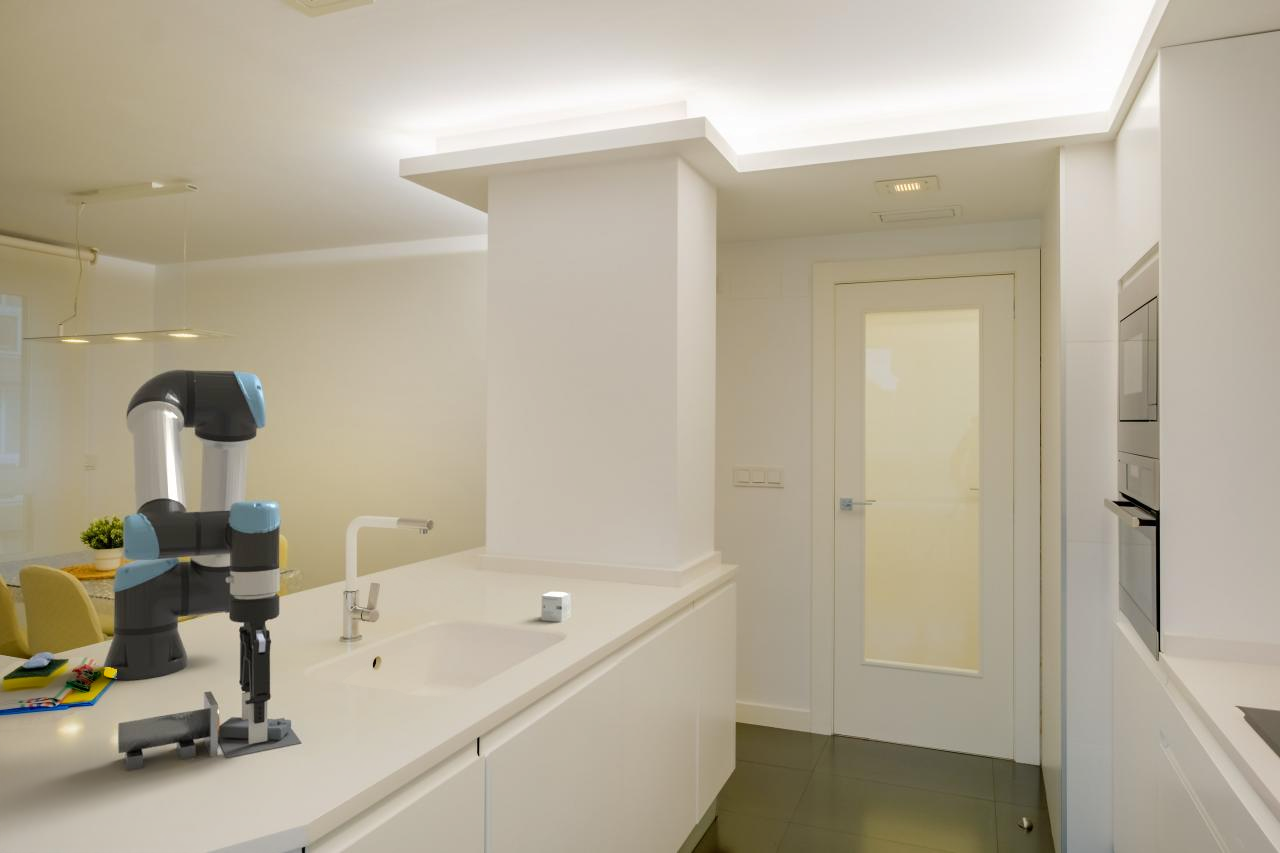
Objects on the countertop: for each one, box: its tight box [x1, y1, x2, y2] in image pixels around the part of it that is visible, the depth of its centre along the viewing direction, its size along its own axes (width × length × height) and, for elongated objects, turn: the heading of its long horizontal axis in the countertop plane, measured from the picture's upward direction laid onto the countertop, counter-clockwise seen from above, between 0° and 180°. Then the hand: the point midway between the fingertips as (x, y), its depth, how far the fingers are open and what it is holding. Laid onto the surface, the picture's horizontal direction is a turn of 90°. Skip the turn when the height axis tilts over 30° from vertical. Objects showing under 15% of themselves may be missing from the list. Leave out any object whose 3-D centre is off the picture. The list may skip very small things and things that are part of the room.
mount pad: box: [218, 717, 302, 759], centre depth 138 cm, size 14×11×1 cm
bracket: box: [219, 716, 292, 740], centre depth 138 cm, size 4×10×2 cm, turn 87°
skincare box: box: [540, 591, 572, 623], centre depth 223 cm, size 6×6×7 cm
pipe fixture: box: [117, 691, 221, 772], centre depth 130 cm, size 8×13×8 cm, turn 124°
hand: (254, 736), depth 137 cm, fingers open, 5 cm apart
